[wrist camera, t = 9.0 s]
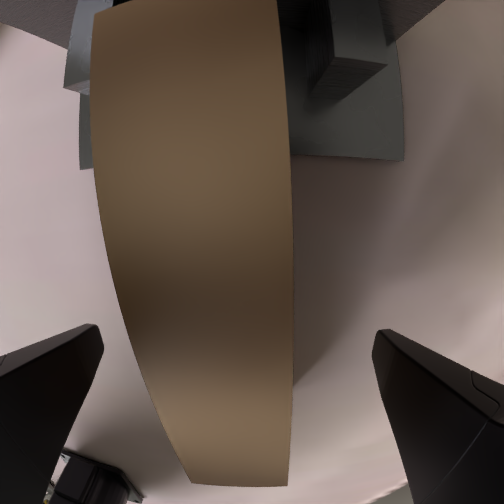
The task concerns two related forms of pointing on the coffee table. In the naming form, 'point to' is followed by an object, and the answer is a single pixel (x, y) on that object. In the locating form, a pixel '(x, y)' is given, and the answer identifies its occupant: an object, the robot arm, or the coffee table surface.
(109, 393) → the coffee table surface
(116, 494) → the robot arm
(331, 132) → the bracket
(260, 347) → the rail
